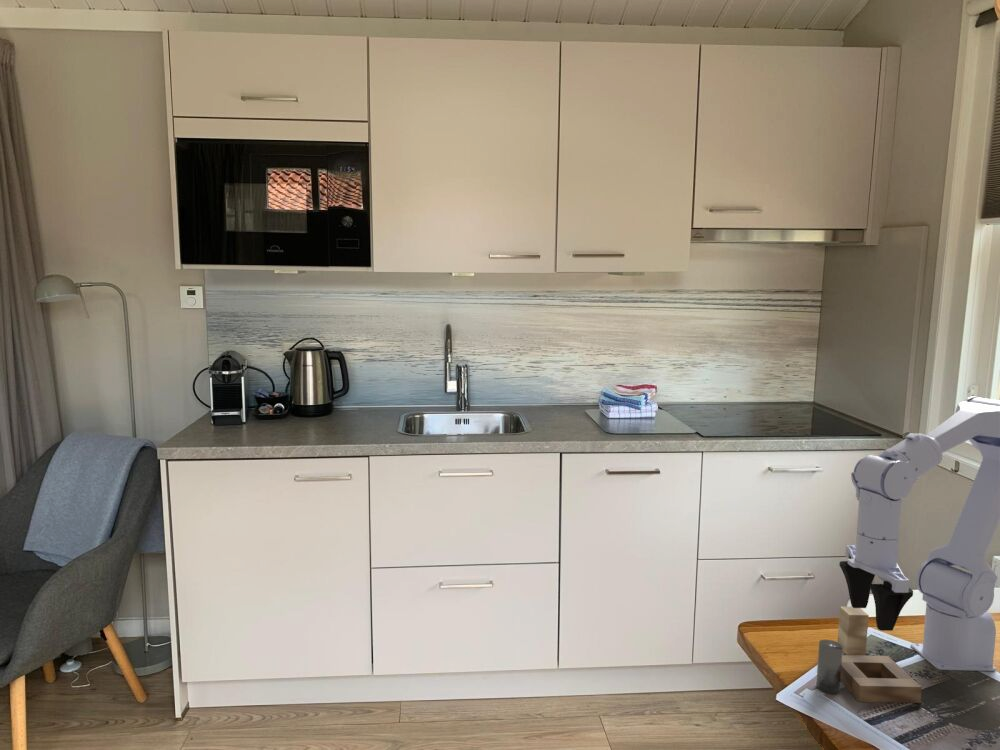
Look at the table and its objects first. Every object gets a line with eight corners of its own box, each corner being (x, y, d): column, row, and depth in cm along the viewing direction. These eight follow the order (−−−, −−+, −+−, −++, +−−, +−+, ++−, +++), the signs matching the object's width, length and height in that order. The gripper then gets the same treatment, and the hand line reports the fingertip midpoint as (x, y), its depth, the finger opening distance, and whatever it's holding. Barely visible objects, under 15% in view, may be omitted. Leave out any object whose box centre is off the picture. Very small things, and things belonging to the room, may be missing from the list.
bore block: (886, 670, 112) (888, 655, 111) (920, 703, 103) (921, 686, 102) (830, 669, 112) (831, 654, 111) (859, 701, 103) (860, 685, 102)
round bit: (833, 682, 108) (836, 639, 107) (843, 694, 105) (846, 650, 104) (812, 682, 108) (815, 639, 107) (821, 694, 105) (825, 649, 104)
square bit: (855, 645, 120) (858, 606, 119) (865, 655, 116) (868, 615, 116) (837, 645, 120) (840, 606, 119) (846, 655, 116) (849, 614, 116)
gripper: (829, 519, 115) (824, 598, 117) (877, 550, 101) (871, 640, 102) (871, 519, 115) (866, 598, 117) (926, 551, 101) (918, 640, 102)
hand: (871, 618), depth 109 cm, fingers open, 7 cm apart
